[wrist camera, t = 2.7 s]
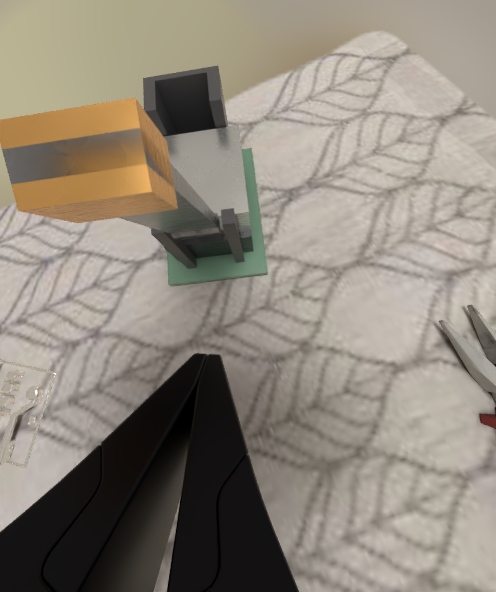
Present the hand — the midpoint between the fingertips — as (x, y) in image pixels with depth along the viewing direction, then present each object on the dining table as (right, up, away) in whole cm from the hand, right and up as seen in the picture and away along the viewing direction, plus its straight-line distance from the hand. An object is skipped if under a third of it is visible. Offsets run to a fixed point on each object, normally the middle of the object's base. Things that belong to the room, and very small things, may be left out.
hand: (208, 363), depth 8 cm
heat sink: (-2, +10, +14) cm, 17 cm away
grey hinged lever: (-2, +7, +7) cm, 10 cm away
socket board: (-2, +10, +15) cm, 18 cm away
